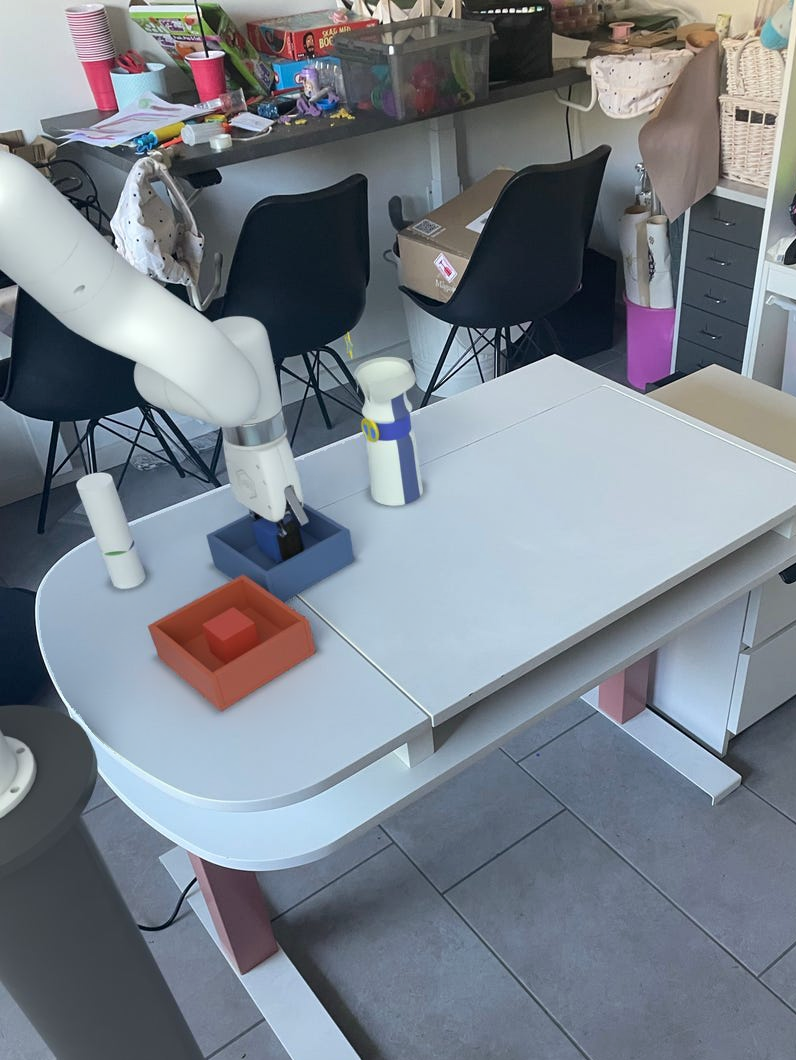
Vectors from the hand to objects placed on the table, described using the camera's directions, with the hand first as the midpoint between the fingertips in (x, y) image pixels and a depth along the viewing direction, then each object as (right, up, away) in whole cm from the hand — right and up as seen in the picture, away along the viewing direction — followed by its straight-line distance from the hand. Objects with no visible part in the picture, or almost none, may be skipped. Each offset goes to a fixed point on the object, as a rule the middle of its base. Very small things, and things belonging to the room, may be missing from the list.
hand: (281, 547), depth 124 cm
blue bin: (0, -2, +2) cm, 3 cm away
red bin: (-3, -14, -12) cm, 19 cm away
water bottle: (+14, +9, +14) cm, 22 cm away
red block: (-3, -14, -13) cm, 19 cm away
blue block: (0, 0, 0) cm, 0 cm away
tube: (-20, -4, +1) cm, 21 cm away
